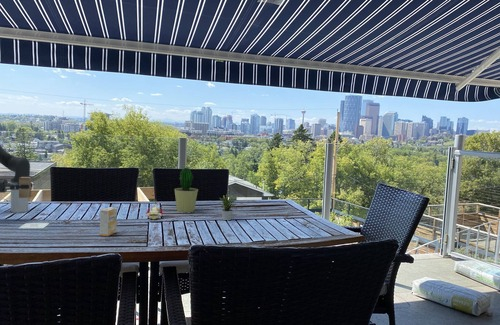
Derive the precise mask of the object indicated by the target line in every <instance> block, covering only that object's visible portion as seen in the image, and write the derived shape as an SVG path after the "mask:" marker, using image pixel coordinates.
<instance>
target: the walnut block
mask: <svg viewBox="0 0 500 325" xmlns="http://www.w3.org/2000/svg"><path fill="white" fill-rule="evenodd" d="M31 183H32V177H31V176H30V177H20V178H19V184H21V185H29V189H19V198H28V199H30V198H31V197H32V187H31Z"/></svg>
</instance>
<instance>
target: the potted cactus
mask: <svg viewBox="0 0 500 325" xmlns="http://www.w3.org/2000/svg"><path fill="white" fill-rule="evenodd" d="M179 176H180V177H179V180H180V184H179V185H180V186H181V187H177V188H176V187H175V188H174V195H175V204H176V212H177V211H178V212H177V213H180V212H192V213H194V212H195V209H196V204H197V198H198V197H197V196H198V192H199V189H198V188H193V187H191V186H192V181H193V179H194V175H193V173H192V172H191V169H190V167H186V166H185V167H183V168H181V170H180V173H179ZM193 211H194V212H193Z"/></svg>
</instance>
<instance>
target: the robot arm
mask: <svg viewBox="0 0 500 325" xmlns="http://www.w3.org/2000/svg"><path fill="white" fill-rule="evenodd" d="M0 164H1V165H2V166H3V167H4V168H6V169H7V170H9V171H11V172H14V177H12V178H11V179H10V181H9V182H8V179H7V178H0V194H1V193H3V194H4V193H6V192H7V191H10V213H13V214H14V213H16V214H17V213H18V214H19V213H27V212H29V198H19V189H29V185H21V184H19V178H20V177H31V175H30V174H31V173H30V172H31V164H30V161H29V160H28V159H27V158H26V157H19V156H18V157H17V156H15V155H12V154H10V153H8V152H7V151H6V150H5V149H4V148H3V146H2V145H1V144H0ZM31 188H33V183H32V182H31Z"/></svg>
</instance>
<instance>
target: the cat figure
mask: <svg viewBox="0 0 500 325" xmlns="http://www.w3.org/2000/svg"><path fill="white" fill-rule="evenodd" d="M157 205H158V202H157V200H155V201H154V206H153V207H151V208H148V209H147V211H146V212H145V216H146V217H148V219H152V220H155V219H160V217H161V216H163V215H164V212H163V210H162V209H161V208H160V207H157Z"/></svg>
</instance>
